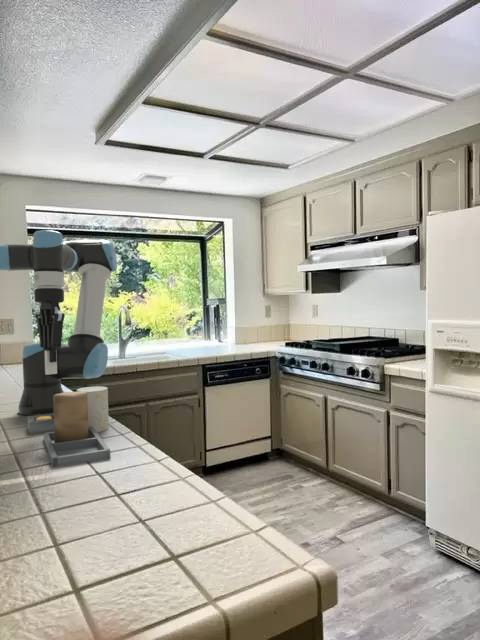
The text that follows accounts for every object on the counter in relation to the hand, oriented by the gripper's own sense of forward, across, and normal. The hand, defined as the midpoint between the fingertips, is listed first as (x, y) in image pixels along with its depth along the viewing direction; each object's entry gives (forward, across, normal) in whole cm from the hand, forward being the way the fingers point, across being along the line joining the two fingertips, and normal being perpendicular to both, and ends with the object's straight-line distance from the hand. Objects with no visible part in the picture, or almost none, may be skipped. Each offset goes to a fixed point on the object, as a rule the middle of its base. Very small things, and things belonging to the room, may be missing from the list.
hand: (51, 373), depth 130 cm
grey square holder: (+16, -3, -1) cm, 17 cm away
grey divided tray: (+17, +21, -4) cm, 27 cm away
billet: (+16, +16, -2) cm, 22 cm away
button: (+15, -3, -1) cm, 16 cm away
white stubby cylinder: (+17, +8, +8) cm, 20 cm away
